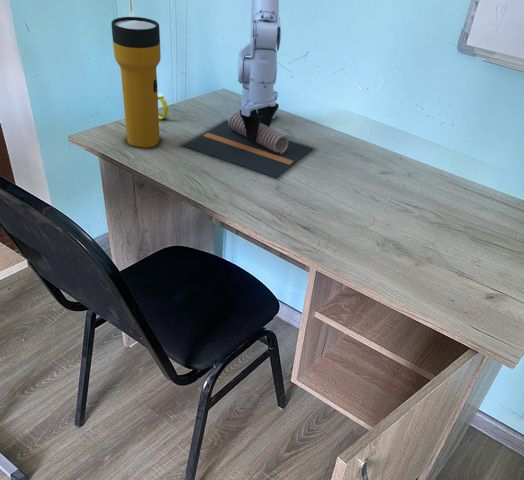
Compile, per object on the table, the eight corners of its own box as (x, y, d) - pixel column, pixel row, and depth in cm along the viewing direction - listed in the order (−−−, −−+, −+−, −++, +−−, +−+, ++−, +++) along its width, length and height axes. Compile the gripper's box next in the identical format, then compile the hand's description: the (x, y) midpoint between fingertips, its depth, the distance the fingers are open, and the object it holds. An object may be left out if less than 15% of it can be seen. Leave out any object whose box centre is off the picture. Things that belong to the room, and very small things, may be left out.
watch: (146, 115, 142) (145, 92, 138) (154, 112, 144) (153, 89, 140) (163, 122, 140) (162, 99, 136) (170, 119, 142) (169, 96, 138)
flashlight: (121, 12, 117) (165, 19, 116) (131, 129, 135) (169, 136, 134) (103, 23, 110) (149, 30, 109) (116, 145, 128) (156, 153, 127)
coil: (291, 134, 130) (241, 110, 139) (278, 136, 127) (228, 111, 136) (287, 153, 133) (238, 128, 142) (275, 156, 130) (225, 130, 139)
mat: (226, 121, 144) (226, 120, 144) (312, 149, 136) (312, 148, 136) (183, 146, 131) (183, 145, 131) (275, 178, 123) (276, 177, 123)
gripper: (261, 91, 120) (256, 150, 129) (290, 75, 129) (284, 131, 139) (234, 84, 122) (232, 142, 131) (265, 68, 131) (260, 124, 141)
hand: (257, 136), depth 135 cm, fingers closed on coil, 5 cm apart
